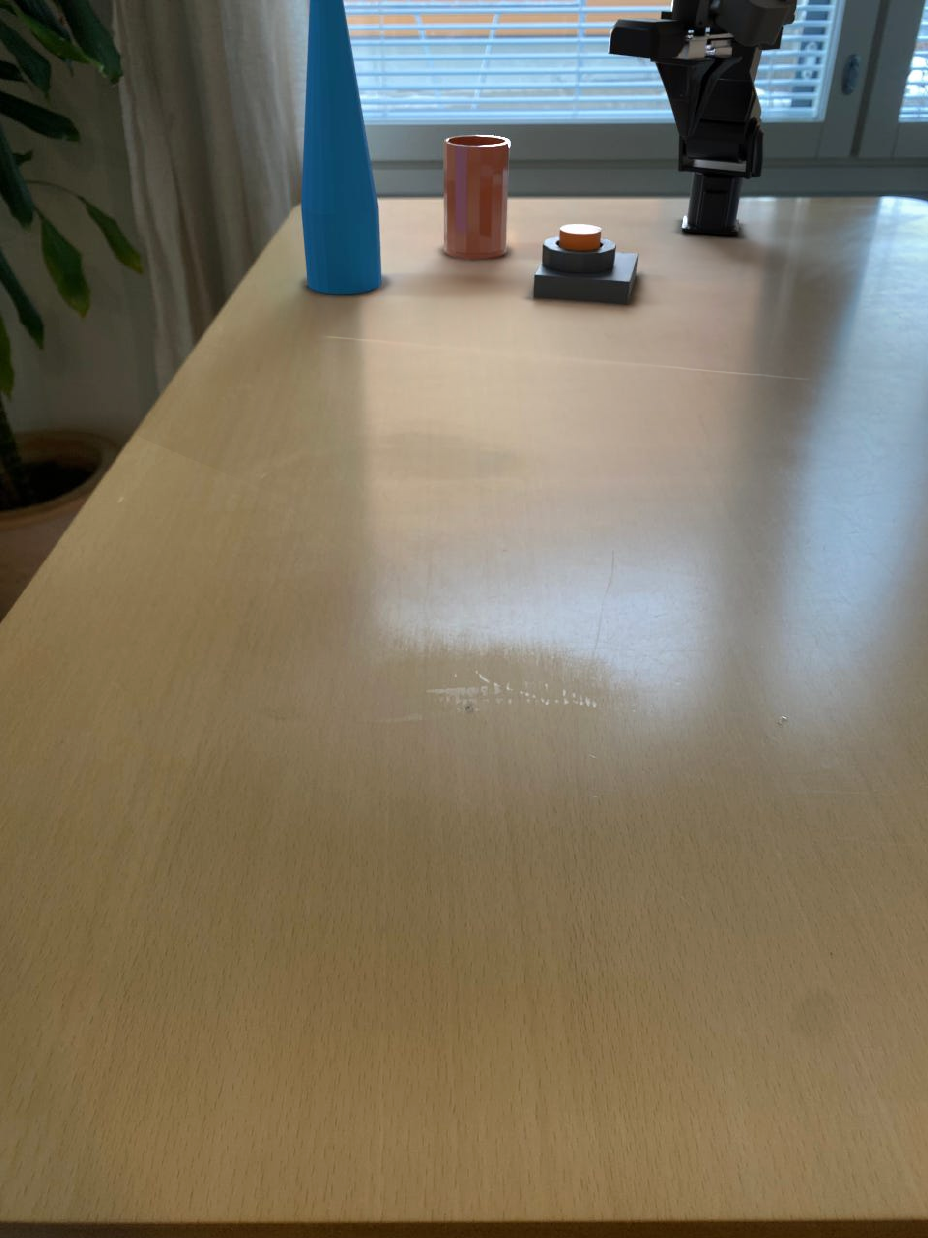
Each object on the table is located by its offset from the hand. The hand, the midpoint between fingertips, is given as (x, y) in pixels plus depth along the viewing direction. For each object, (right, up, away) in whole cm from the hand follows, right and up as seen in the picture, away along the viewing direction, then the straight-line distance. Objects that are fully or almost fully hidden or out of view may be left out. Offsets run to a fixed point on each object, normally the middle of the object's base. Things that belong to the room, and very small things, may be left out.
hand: (685, 136), depth 95 cm
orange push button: (-11, -12, -3) cm, 17 cm away
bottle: (-34, -15, -1) cm, 37 cm away
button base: (-10, -15, -1) cm, 19 cm away
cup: (-21, -8, +9) cm, 24 cm away
